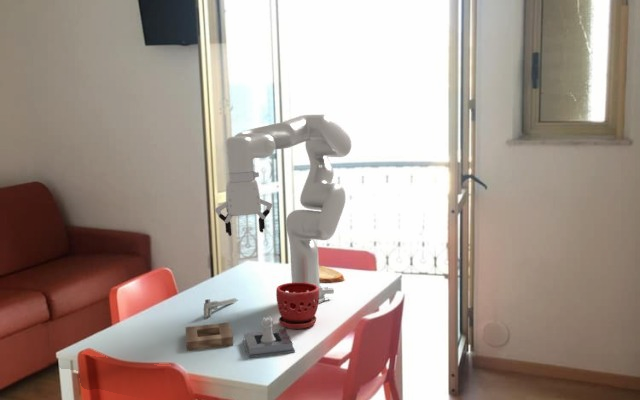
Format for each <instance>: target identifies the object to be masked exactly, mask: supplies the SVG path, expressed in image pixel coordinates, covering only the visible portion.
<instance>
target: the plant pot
mask: <svg viewBox="0 0 640 400" xmlns="http://www.w3.org/2000/svg"><path fill="white" fill-rule="evenodd" d="M307 290H308V291H309V292H307ZM275 291H276V302H277V309H278V313H279V314H280V317H279V318H278V322H279V324H280V325H281V326H283V327H285V328H286V329H292V330H293V329H295V330H296V329H297V330H298V329H299V330H300V329H306V328H308V327H311V326H313V325H315V324H316V321H317V317H316V314H317V312H318V311H317V310H318V308H319V304H318V302H319V287H318V286H316V285H314V284H310V283H292V282H289V283H287V282H286V283H283V284H281V285H280V284H279V285H278V286H277V287H276V290H275ZM293 292H295V293H293ZM301 292H303V293H301ZM314 299H315V302H314Z"/></svg>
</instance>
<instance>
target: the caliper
mask: <svg viewBox="0 0 640 400" xmlns="http://www.w3.org/2000/svg"><path fill="white" fill-rule="evenodd" d="M204 300H205V301H204V303H203V318H204V319H208V318H211V317H212V311H213V310H218V309H219V307H223V306H226V305H231V304H235V303H236V302H237V301H239V299H238V298H228V299H224V300H220V301H219V300H213V301H211V299H209V298H208V299H204Z"/></svg>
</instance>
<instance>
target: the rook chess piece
mask: <svg viewBox="0 0 640 400" xmlns="http://www.w3.org/2000/svg"><path fill="white" fill-rule="evenodd" d="M273 321H274V320H273V318H272V317H271V316H263V317H262V320H261V323H262V326H261V327H262V332H263V336H262V338H261V344H263V343H271V342H275V341H276V339H275V337H274V335H273V332H272V331H273V324H272V323H273Z"/></svg>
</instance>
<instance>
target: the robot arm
mask: <svg viewBox="0 0 640 400" xmlns="http://www.w3.org/2000/svg"><path fill="white" fill-rule="evenodd" d="M225 143H226V154H227V155H226V156H227V168H228V170H227V171H228V182H226V185H225V186H226V187H225V201H224V203H222V204H220V205H219V206H217V207H215V209H214V211H215V213H216V214H217V216H218V219H221V220H222V221H223V222H224V224H225V233H227V234H228V236H229V237H231V236H232V235H233V234H232V223H231V219H233V217H239V216H249V215H258V216H259V217H258V229H259V232H260V233H264V230H265V229H266V226H265V219H266V217H267V216H268V215H269V214H270V213H271V209H272V206H273V203H272V202H269V201H267V200H264V199H262V198H261V197H260V190H259V186H258V182H257V180H256V178H258V177H260V174H259V172H258V171H255V170H254V159H266V158H268V157H270V156H272V154H274V153H275V150H283V149H284V150H285V149H288V148H289V149H290V148H292V147H294V146H297V145H299V144H302V143H305V144H304V145H305V150H306V153H307V156H308V161H309V166H310V167H309V172H308V175H307V176H306V177H307V178H306V180H305V183H304V185H303V188H302V191H301V194H300V197H299V198H300V199H299V201H300V204H301V206H302V207H304V208H306V209H296V210H295V209H294V210H292V211H291V212H290V213H288V215H287V217H286V219H285V227H286V232H287V236H288V242H289V251H290V252H289V253H290V271H291V274H290V275H291V283H310V284H314V285H316V286H318V287H319V302H318V305H319V304H321V303H323V302H324V301H325V295H331V294H332V295H333V294H334V292H335V290H334V288H333V287H329V286H327V287H326V286H324V287H322V286H321V285H320V282H319V265H320V264H319V263H320V262H319V248H318V245H317V243H316V241H317V240H318V241H327V240H330V239H331V238H332V237H333V236H334V234H335V233H336V230H337V228H338V225H339V221H340V219H341V216H342V213H343V211H344V207H345V204H346V192H345V190H344V187H343V186H342V185H340V184H338V183H333V179H334V176H335V175H334V173H335V172H334V169H333V168H334V167H333V166H332V164H331V162H330V160H329V158H343V157H345V156H347V155H349V154H350V153H351V149H352V140H351V137H350V136H349V134H348V133H347V132H346V131H345V130H344V128H342V126H340V125H339V124H338V122H336V121H335V120H334V119H333V118H332V117H330V116H328V115H327V114H304V115H299V116H297V117H293V118H290V119H288V120H284V121H282V122H277V123H273V124H272V123H271V124H268V125H264V126H260V127H254V128H250V129H247V130H244V131H241V132H238V133H237V134H235V135H234V136H231V137H228V138H227V139H226V142H225ZM261 205H264V206H266V207H265V210H263V212H261V211H262V206H261ZM224 209H226V213H227V214H226V215H224V214H223V213H222V211H223V210H224ZM307 292H309V291H308V290H307ZM293 293H295V292H293ZM301 293H303V292H301ZM314 302H315V299H314Z"/></svg>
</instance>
